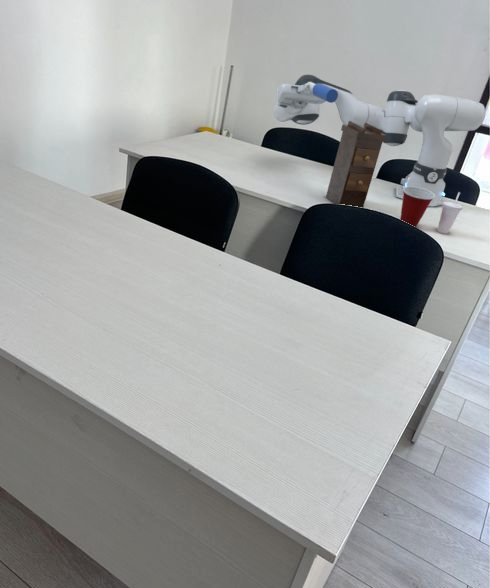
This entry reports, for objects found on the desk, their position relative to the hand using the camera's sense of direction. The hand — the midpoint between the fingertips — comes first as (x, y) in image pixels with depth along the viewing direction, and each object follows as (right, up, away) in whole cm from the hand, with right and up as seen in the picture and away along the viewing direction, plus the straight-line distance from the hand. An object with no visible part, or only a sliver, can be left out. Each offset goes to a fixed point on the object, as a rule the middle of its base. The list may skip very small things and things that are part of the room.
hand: (313, 86), depth 215 cm
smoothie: (+43, -57, -13) cm, 72 cm away
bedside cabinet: (+11, -43, 0) cm, 45 cm away
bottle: (+1, -6, -4) cm, 7 cm away
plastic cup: (+31, -54, -12) cm, 64 cm away
